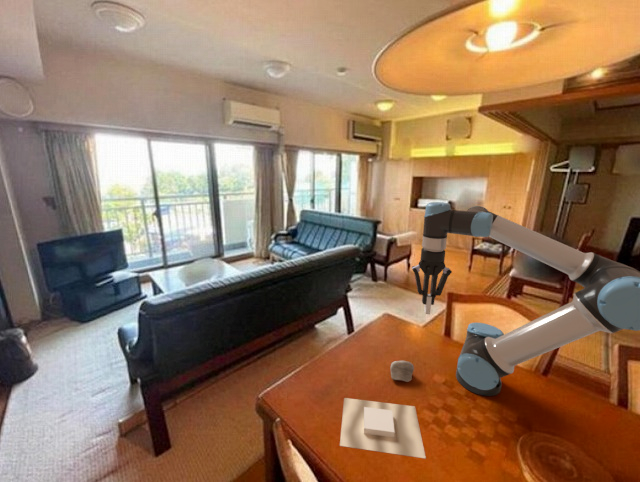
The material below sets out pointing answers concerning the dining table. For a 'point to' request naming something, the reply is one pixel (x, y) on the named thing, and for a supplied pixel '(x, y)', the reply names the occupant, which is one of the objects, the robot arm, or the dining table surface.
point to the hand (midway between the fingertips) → (426, 312)
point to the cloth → (402, 443)
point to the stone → (402, 370)
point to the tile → (378, 422)
